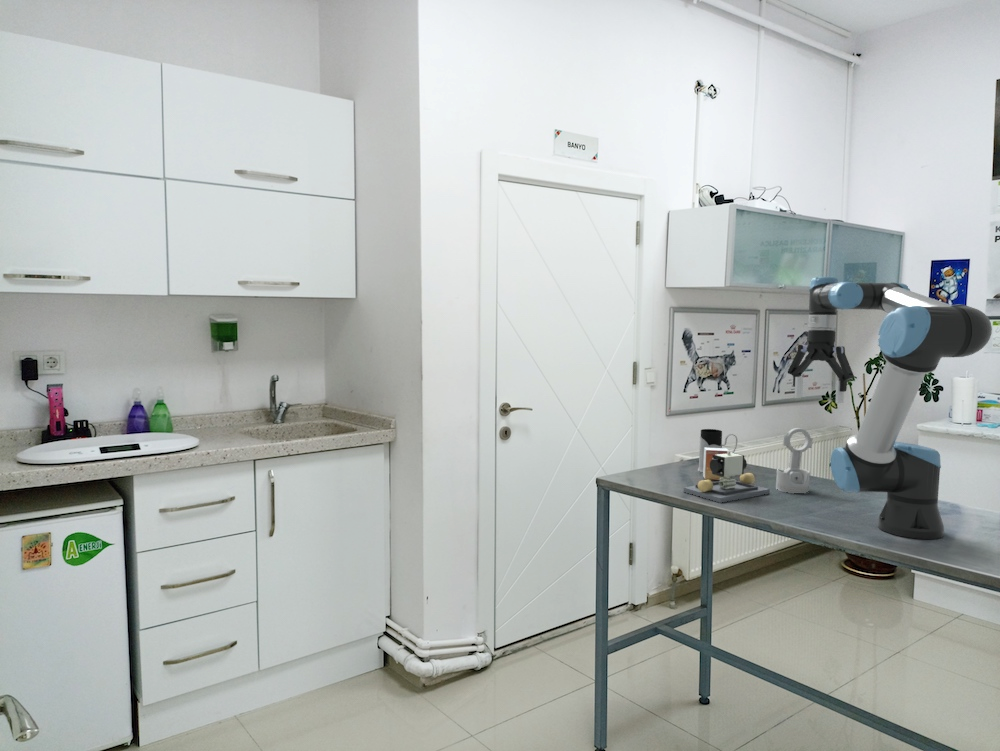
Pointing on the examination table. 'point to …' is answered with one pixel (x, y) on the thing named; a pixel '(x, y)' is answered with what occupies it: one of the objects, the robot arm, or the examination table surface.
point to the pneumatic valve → (728, 468)
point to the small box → (708, 457)
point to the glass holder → (710, 443)
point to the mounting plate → (722, 495)
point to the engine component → (794, 466)
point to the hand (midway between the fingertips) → (818, 400)
